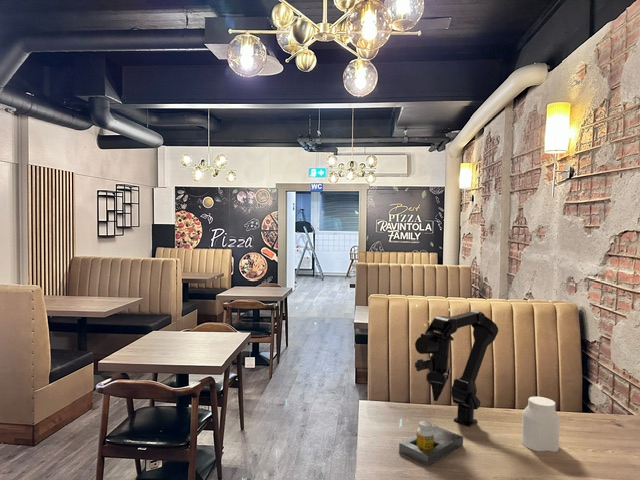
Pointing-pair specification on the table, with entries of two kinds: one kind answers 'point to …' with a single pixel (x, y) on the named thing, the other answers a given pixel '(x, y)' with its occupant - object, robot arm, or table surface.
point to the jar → (540, 425)
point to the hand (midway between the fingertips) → (437, 397)
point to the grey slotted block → (442, 446)
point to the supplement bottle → (425, 435)
